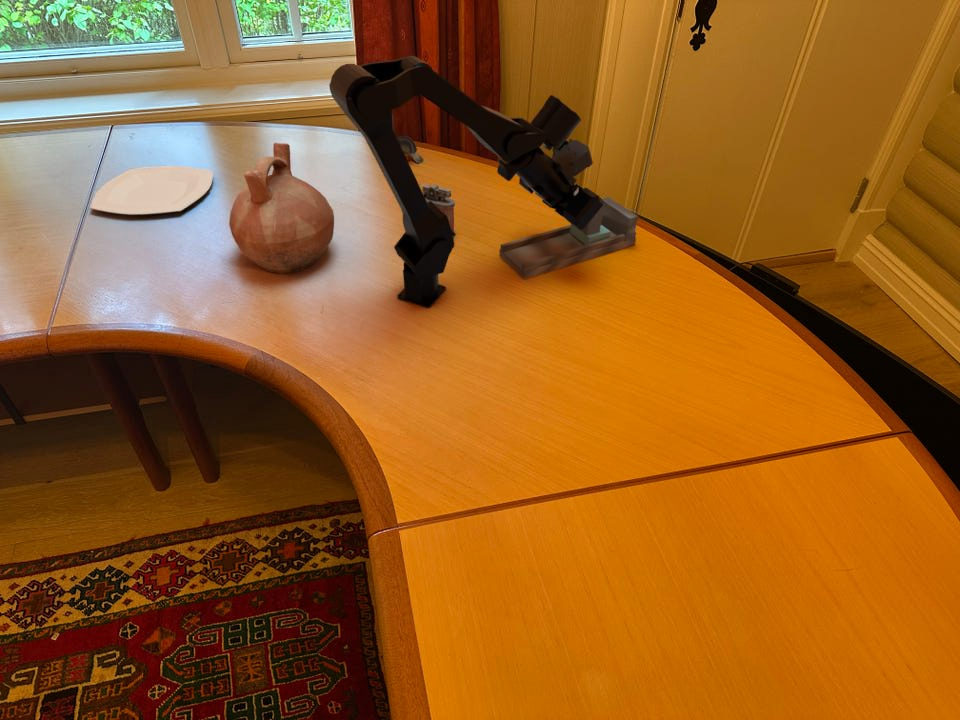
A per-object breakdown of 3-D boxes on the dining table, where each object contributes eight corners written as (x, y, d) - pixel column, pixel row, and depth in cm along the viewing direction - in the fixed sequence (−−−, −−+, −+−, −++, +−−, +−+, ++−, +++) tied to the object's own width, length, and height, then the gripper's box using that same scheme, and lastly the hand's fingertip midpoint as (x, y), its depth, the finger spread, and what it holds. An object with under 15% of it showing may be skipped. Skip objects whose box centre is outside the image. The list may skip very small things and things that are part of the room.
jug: (315, 290, 107) (294, 184, 93) (221, 277, 109) (188, 171, 96) (353, 238, 120) (339, 138, 107) (268, 227, 123) (244, 129, 109)
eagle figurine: (381, 162, 144) (417, 159, 142) (379, 131, 143) (415, 127, 141) (392, 168, 152) (427, 165, 150) (391, 138, 151) (425, 135, 149)
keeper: (588, 246, 116) (593, 210, 111) (569, 232, 120) (574, 196, 115) (608, 240, 118) (615, 204, 113) (590, 226, 122) (595, 191, 117)
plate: (190, 224, 124) (187, 215, 122) (77, 220, 124) (73, 212, 123) (227, 175, 141) (225, 167, 140) (128, 172, 141) (125, 164, 140)
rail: (524, 279, 110) (527, 248, 106) (499, 256, 116) (500, 225, 112) (634, 245, 120) (641, 215, 116) (606, 225, 126) (611, 196, 122)
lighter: (415, 231, 123) (412, 185, 116) (424, 224, 125) (422, 178, 118) (449, 241, 120) (449, 194, 113) (458, 234, 122) (457, 187, 116)
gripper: (602, 150, 95) (643, 200, 106) (537, 112, 107) (580, 160, 118) (556, 207, 97) (601, 250, 109) (497, 164, 109) (543, 206, 121)
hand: (581, 214), depth 114 cm, fingers closed, pressing on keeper
